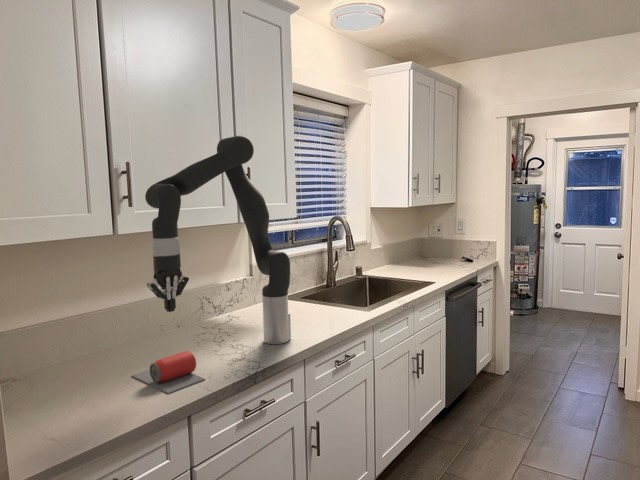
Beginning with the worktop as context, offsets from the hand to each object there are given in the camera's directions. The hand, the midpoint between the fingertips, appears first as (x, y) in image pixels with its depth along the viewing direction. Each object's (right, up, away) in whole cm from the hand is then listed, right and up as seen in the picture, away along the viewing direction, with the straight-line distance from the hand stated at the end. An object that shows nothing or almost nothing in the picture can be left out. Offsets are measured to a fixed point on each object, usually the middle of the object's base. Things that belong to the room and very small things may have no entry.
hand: (170, 311), depth 136 cm
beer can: (+5, -16, +4) cm, 17 cm away
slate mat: (-1, -20, +1) cm, 20 cm away
